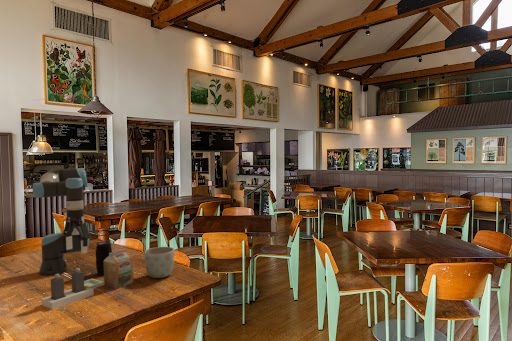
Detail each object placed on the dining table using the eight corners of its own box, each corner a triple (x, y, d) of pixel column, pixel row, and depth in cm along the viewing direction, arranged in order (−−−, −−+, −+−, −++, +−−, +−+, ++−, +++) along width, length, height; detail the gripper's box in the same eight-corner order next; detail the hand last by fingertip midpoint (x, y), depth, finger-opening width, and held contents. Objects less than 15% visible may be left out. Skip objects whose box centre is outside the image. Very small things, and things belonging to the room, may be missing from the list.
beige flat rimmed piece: (41, 305, 164) (41, 297, 164) (82, 292, 180) (82, 283, 180) (52, 310, 158) (52, 301, 158) (93, 295, 175) (93, 287, 175)
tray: (73, 288, 186) (73, 284, 186) (92, 281, 196) (92, 278, 195) (84, 292, 180) (84, 288, 180) (103, 285, 189) (103, 281, 189)
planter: (180, 273, 207) (180, 248, 207) (161, 282, 192) (161, 255, 192) (158, 270, 215) (157, 245, 214) (138, 278, 199) (137, 252, 199)
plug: (72, 296, 173) (71, 269, 173) (80, 294, 176) (79, 266, 176) (76, 298, 171) (75, 270, 170) (84, 295, 174) (83, 268, 174)
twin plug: (51, 303, 165) (50, 274, 164) (60, 301, 168) (59, 272, 168) (55, 305, 162) (54, 276, 162) (64, 302, 166) (63, 273, 165)
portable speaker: (110, 276, 205) (109, 243, 204) (93, 277, 204) (92, 244, 203) (115, 271, 213) (113, 240, 212) (99, 272, 212) (98, 240, 212)
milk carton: (116, 290, 182) (115, 254, 182) (104, 286, 188) (103, 252, 187) (133, 283, 191) (132, 249, 191) (121, 280, 197) (119, 247, 196)
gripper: (54, 208, 176) (56, 249, 177) (81, 211, 162) (83, 256, 163) (69, 206, 182) (70, 246, 183) (96, 209, 169) (98, 252, 169)
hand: (76, 251), depth 173 cm, fingers open, 13 cm apart
